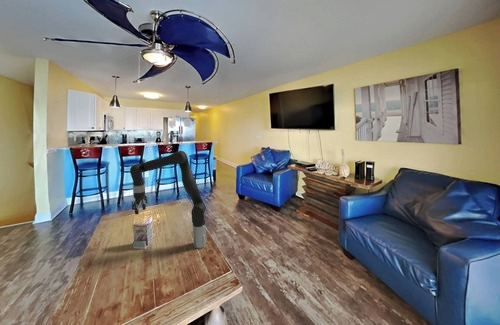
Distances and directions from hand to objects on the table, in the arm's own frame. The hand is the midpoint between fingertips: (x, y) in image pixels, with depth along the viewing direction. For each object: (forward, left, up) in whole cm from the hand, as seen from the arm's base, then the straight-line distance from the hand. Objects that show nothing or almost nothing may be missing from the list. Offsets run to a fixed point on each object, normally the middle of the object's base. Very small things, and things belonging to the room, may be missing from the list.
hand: (140, 211), depth 141 cm
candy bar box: (0, 0, -26) cm, 26 cm away
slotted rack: (0, 0, -27) cm, 27 cm away
